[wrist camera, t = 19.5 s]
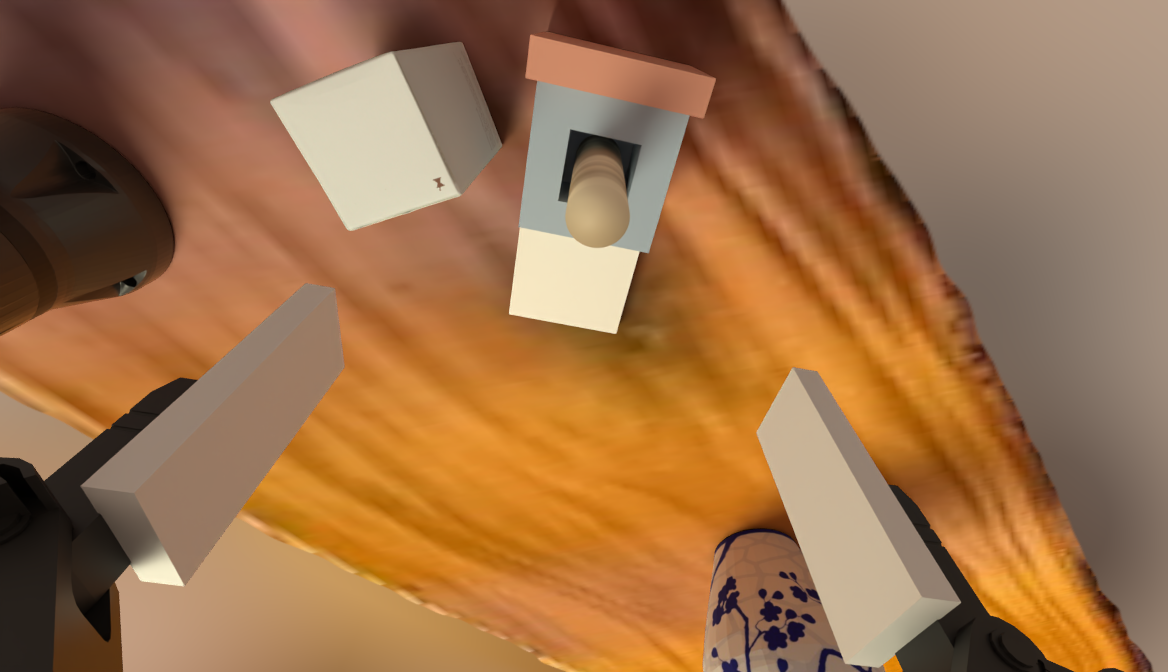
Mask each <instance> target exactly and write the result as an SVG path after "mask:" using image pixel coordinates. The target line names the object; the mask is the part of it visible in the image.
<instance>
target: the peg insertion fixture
mask: <svg viewBox="0 0 1168 672" xmlns="http://www.w3.org/2000/svg"><path fill="white" fill-rule="evenodd" d="M525 78H527V79H532V80H536V81H541V82H545V83H549V84H554V85H558V86H562V87H567V88H571V89H576V90H580V91H584V92H589V93H593V94H598V95H602V96H606V97H611V98H615V99H619V100H624V101H628V102H633V103H637V104H641V105H646V106H650V107H654V108H659V109H663V110H668V111H672V112H676V113H681V114H685V115H690V116H694V117H698V118H703V119H704V116H705V113H706V109H707V106H708V103H709V100H710V97H711V94H712V90H713V87H714V84H715V81H716V78H714V77H712V76H710V75H708V74H706V73H704V72H702V71H700V70H698V69H696V68H694V67H692V66H690V65H686V64H682V63H678V62H673V61H669V60H665V59H661V58H657V57H652V56H648V55H644V54H640V53H635V52H631V51H627V50H623V49H619V48H614V47H610V46H606V45H602V44H598V43H593V42H589V41H585V40H581V39H577V38H572V37H568V36H564V35H560V34H556V33H551V32H542V33H537V34H531V35H530V42H529V50H528V59H527V68H526V77H525ZM639 252H640V251H635V250H630V249H625V248H620V247H615V246H607V247H603V248H592V247H587V246H585V245H583V244H581V243H579V242H578V241H576V240H575V239H574V238H570V237H565V236H560V235H556V234H551V233H546V232H541V231H536V230H531V229H526V228H521V227H520V232H519V240H518V248H517V256H516V263H515V271H514V279H513V287H512V294H511V302H510V310H509V314H512V315H517V316H522V317H528V318H533V319H539V320H544V321H549V322H555V323H560V324H566V325H571V326H576V327H582V328H587V329H592V330H598V331H603V332H609V333H614V334H616V332H617V328H618V325H619V321H620V318H621V315H622V311H623V308H624V304H625V301H626V297H627V294H628V290H629V287H630V283H631V280H632V276H633V273H634V269H635V266H636V262H637V259H638V255H639Z"/></svg>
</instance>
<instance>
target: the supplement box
mask: <svg viewBox="0 0 1168 672" xmlns="http://www.w3.org/2000/svg"><path fill="white" fill-rule="evenodd" d="M270 103H271V105H272V106H273V108H274V109H275V111H276V113H277V114H278V116H279V118H280V119H281V121H282V122H283V124H284V126H285V127H286V129H287V131H288V132H289V134H290V135H291V137H292V139H293V140H294V142H295V143H296V145H297V147H298V148H299V150H300V152H301V153H302V155H303V157H304V158H305V160H306V161H307V163H308V165H309V166H310V168H311V169H312V171H313V173H314V174H315V176H316V177H317V179H318V181H319V182H320V184H321V186H322V188H323V189H324V191H325V193H326V194H327V196H328V198H329V200H330V201H331V203H332V205H333V206H334V208H335V210H336V211H337V213H338V215H339V216H340V218H341V220H342V222H343V223H344V225H345V227H346V228H347V229H348V230H349V231H352V230H356V229H359V228H362V227H365V226H368V225H371V224H374V223H377V222H381V221H384V220H387V219H390V218H393V217H396V216H399V215H403V214H407V213H410V212H412V211H415V210H417V209H420V208H424V207H427V206H430V205H433V204H436V203H439V202H443V201H446V200H449V199H452V198H455V197H459V196H461V195H462V194H463V193H464V191H465V190H466V189H467V188H468V187H469V185H470V184H471V183H472V182H473V181H474V179H475V178H476V177H477V176H478V175H479V173H480V172H481V171H482V170H483V169H484V168H485V166H486V165H487V164H488V163H489V162H490V160H491V159H492V158H493V157H494V155H495V154H496V153H497V152H498V151H499V149H500V148H501V147H502V143H501V141H500V138H499V135H498V133H497V130H496V127H495V125H494V122H493V120H492V117H491V115H490V112H489V109H488V107H487V104H486V102H485V99H484V96H483V94H482V91H481V89H480V86H479V84H478V81H477V78H476V76H475V73H474V71H473V68H472V66H471V63H470V60H469V58H468V55H467V52H466V50H465V47H464V45H463V43H462V42H453V43H447V44H440V45H433V46H428V47H421V48H415V49H408V50H401V51H391V52H388V53H385V54H382V55H379V56H376V57H374V58H371V59H368V60H366V61H363V62H360V63H358V64H355V65H353V66H350V67H347V68H345V69H342V70H340V71H337V72H335V73H333V74H330V75H328V76H325V77H323V78H320V79H318V80H316V81H313V82H311V83H308V84H306V85H304V86H301V87H299V88H297V89H294V90H292V91H290V92H287V93H285V94H283V95H281V96H278V97H276V98H274V99H272V100H271V101H270Z"/></svg>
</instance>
